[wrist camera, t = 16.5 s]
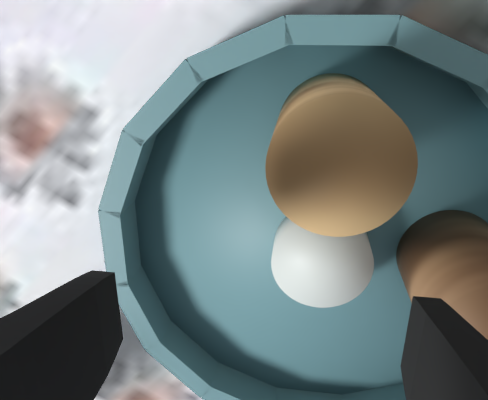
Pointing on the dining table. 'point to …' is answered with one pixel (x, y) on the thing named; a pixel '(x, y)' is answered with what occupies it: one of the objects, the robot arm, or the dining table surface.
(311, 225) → the oak bead
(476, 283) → the brown wooden peg
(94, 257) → the dining table surface
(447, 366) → the robot arm
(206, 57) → the ring tray
